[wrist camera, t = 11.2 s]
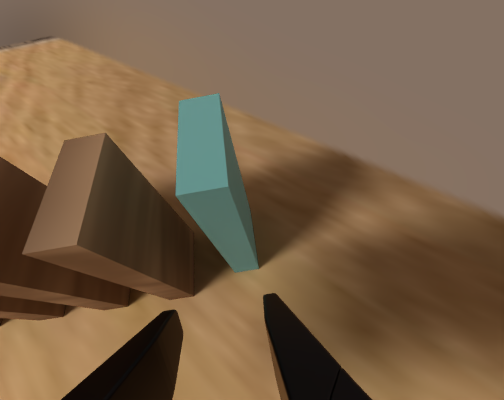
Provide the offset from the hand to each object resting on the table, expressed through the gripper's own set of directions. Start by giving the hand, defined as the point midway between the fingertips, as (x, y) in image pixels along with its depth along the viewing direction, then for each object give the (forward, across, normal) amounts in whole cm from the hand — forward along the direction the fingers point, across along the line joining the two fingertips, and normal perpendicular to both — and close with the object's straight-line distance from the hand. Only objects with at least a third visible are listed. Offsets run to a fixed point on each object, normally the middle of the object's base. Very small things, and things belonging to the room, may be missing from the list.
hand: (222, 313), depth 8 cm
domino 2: (+8, +4, +2) cm, 10 cm away
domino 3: (+9, 0, +1) cm, 9 cm away
